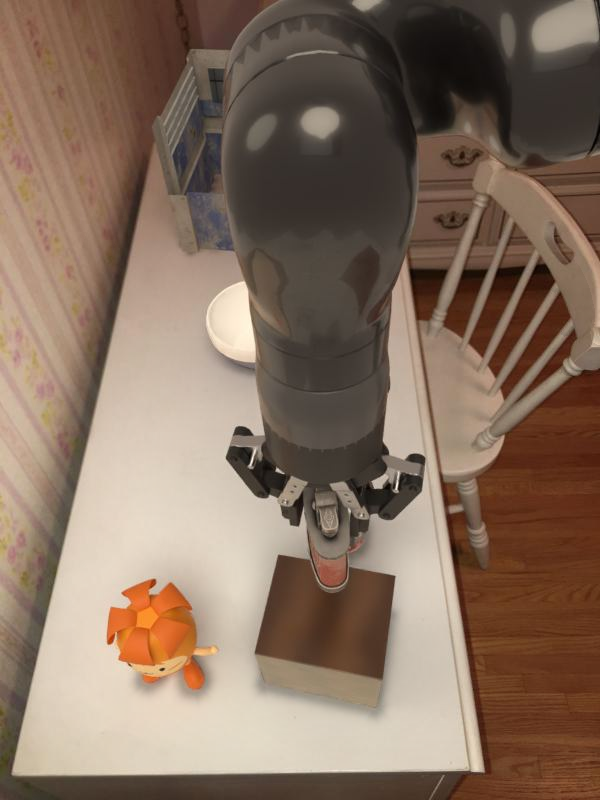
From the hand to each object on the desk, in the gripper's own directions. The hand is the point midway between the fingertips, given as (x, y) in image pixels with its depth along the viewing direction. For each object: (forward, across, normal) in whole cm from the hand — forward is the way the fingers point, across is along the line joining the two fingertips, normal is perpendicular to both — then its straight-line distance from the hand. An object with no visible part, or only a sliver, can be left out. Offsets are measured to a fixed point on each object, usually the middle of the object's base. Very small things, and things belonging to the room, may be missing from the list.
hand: (326, 520), depth 51 cm
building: (+27, -26, +71) cm, 80 cm away
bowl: (+27, -18, +39) cm, 51 cm away
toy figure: (+27, -16, -7) cm, 32 cm away
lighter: (+5, 0, 0) cm, 5 cm away
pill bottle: (+27, 0, +11) cm, 29 cm away
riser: (+27, 0, -2) cm, 27 cm away
